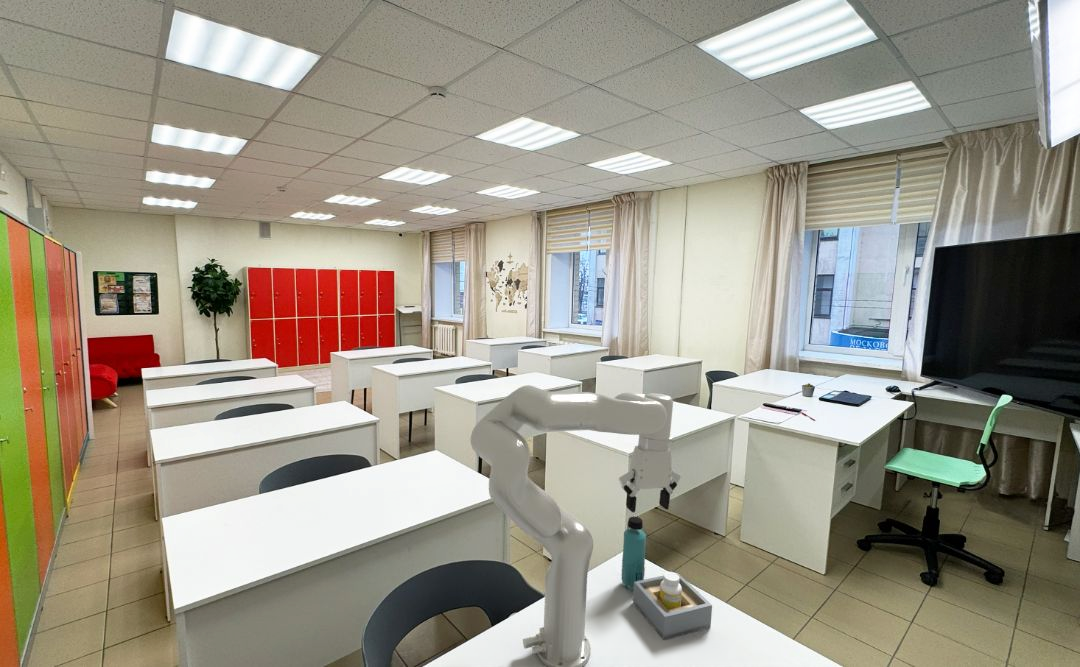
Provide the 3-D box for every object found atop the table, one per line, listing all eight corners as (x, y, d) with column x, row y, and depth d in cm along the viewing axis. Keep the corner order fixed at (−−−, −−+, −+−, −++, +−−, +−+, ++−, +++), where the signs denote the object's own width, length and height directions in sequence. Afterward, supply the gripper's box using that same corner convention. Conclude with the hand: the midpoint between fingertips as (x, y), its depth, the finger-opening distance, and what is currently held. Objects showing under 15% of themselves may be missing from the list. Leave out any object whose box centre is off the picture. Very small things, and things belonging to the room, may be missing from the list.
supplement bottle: (661, 601, 124) (663, 567, 123) (682, 609, 121) (684, 573, 120) (656, 614, 119) (658, 578, 118) (678, 621, 116) (680, 585, 115)
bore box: (663, 640, 111) (665, 616, 111) (632, 602, 124) (634, 581, 124) (710, 627, 116) (712, 605, 116) (676, 592, 129) (677, 572, 129)
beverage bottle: (634, 596, 127) (638, 527, 125) (615, 584, 132) (619, 518, 130) (648, 587, 131) (652, 520, 129) (629, 576, 136) (633, 511, 134)
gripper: (673, 437, 122) (667, 500, 124) (616, 439, 117) (610, 504, 118) (691, 446, 115) (685, 512, 116) (631, 448, 110) (624, 518, 111)
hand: (647, 508), depth 117 cm, fingers open, 9 cm apart
